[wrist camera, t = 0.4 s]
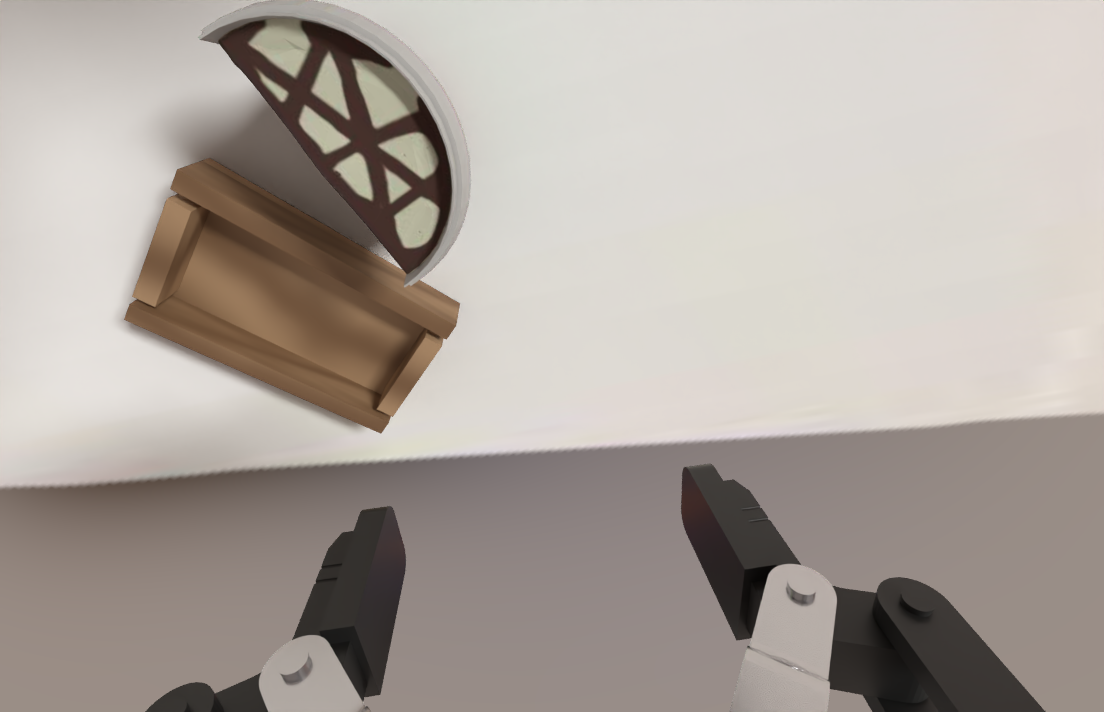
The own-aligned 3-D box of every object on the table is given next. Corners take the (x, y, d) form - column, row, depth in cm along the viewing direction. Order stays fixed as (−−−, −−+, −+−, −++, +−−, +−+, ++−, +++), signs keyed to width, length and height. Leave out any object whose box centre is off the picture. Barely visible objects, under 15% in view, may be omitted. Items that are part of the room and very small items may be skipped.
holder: (209, 157, 28) (176, 169, 26) (459, 303, 34) (456, 325, 32) (157, 296, 32) (124, 319, 30) (390, 405, 38) (380, 433, 36)
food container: (518, 179, 31) (524, 227, 22) (436, 231, 32) (412, 296, 23) (384, -43, 25) (320, -95, 16) (290, 32, 26) (184, 21, 17)
